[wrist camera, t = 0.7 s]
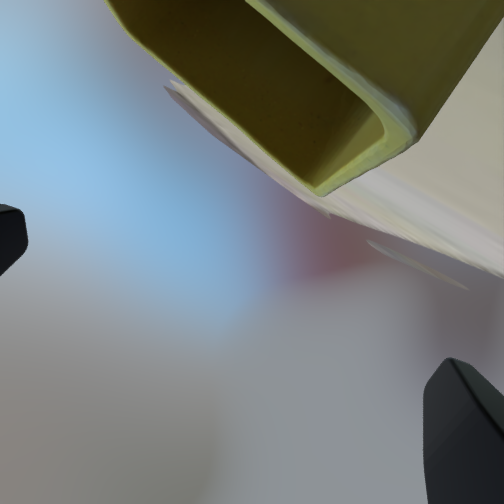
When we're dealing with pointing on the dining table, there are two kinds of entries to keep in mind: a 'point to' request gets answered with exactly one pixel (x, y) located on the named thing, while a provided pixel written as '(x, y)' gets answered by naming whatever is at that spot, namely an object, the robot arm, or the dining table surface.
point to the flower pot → (318, 71)
